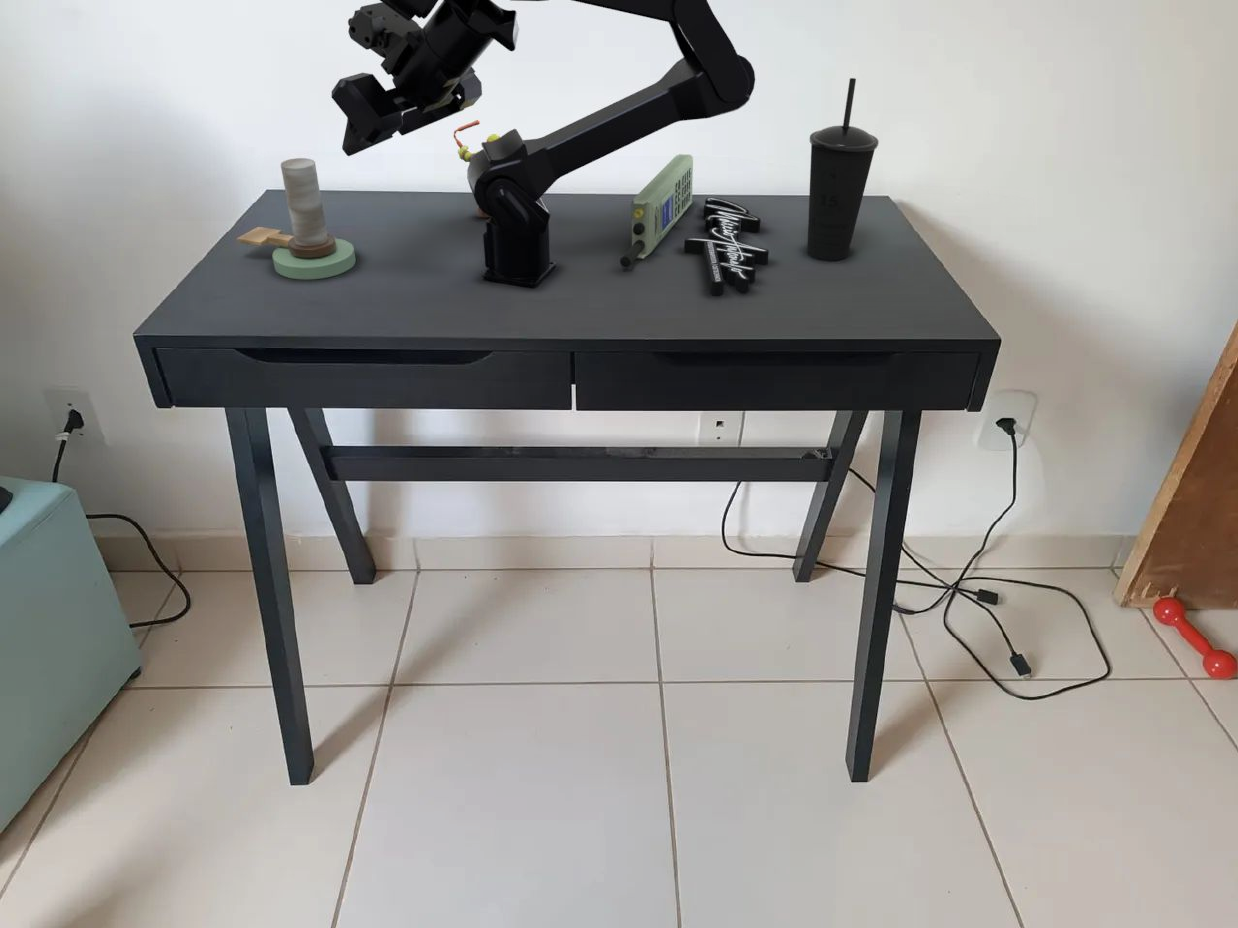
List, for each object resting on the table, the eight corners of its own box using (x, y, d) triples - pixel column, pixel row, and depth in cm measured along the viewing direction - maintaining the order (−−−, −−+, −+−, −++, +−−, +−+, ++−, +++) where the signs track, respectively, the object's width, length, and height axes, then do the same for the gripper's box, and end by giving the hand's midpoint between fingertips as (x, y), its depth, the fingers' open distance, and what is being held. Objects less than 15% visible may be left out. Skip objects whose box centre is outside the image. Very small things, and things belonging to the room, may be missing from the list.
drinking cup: (796, 239, 118) (818, 69, 106) (859, 244, 117) (888, 73, 105) (793, 262, 112) (816, 84, 100) (859, 268, 110) (889, 89, 99)
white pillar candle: (345, 244, 109) (332, 159, 104) (319, 260, 105) (304, 173, 100) (262, 231, 112) (245, 147, 107) (234, 246, 108) (215, 160, 103)
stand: (370, 255, 111) (368, 243, 110) (327, 284, 104) (324, 272, 103) (304, 244, 114) (302, 232, 113) (258, 272, 107) (255, 260, 106)
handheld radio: (695, 205, 127) (639, 275, 108) (672, 203, 128) (612, 272, 109) (697, 155, 124) (639, 218, 104) (672, 153, 125) (610, 215, 105)
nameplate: (677, 197, 125) (753, 198, 125) (677, 208, 126) (752, 209, 126) (691, 282, 103) (783, 283, 103) (690, 295, 104) (781, 296, 104)
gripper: (451, -34, 99) (379, 65, 110) (332, -12, 86) (262, 98, 96) (518, 55, 101) (441, 144, 111) (411, 90, 87) (335, 188, 97)
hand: (373, 141), depth 104 cm, fingers open, 9 cm apart
